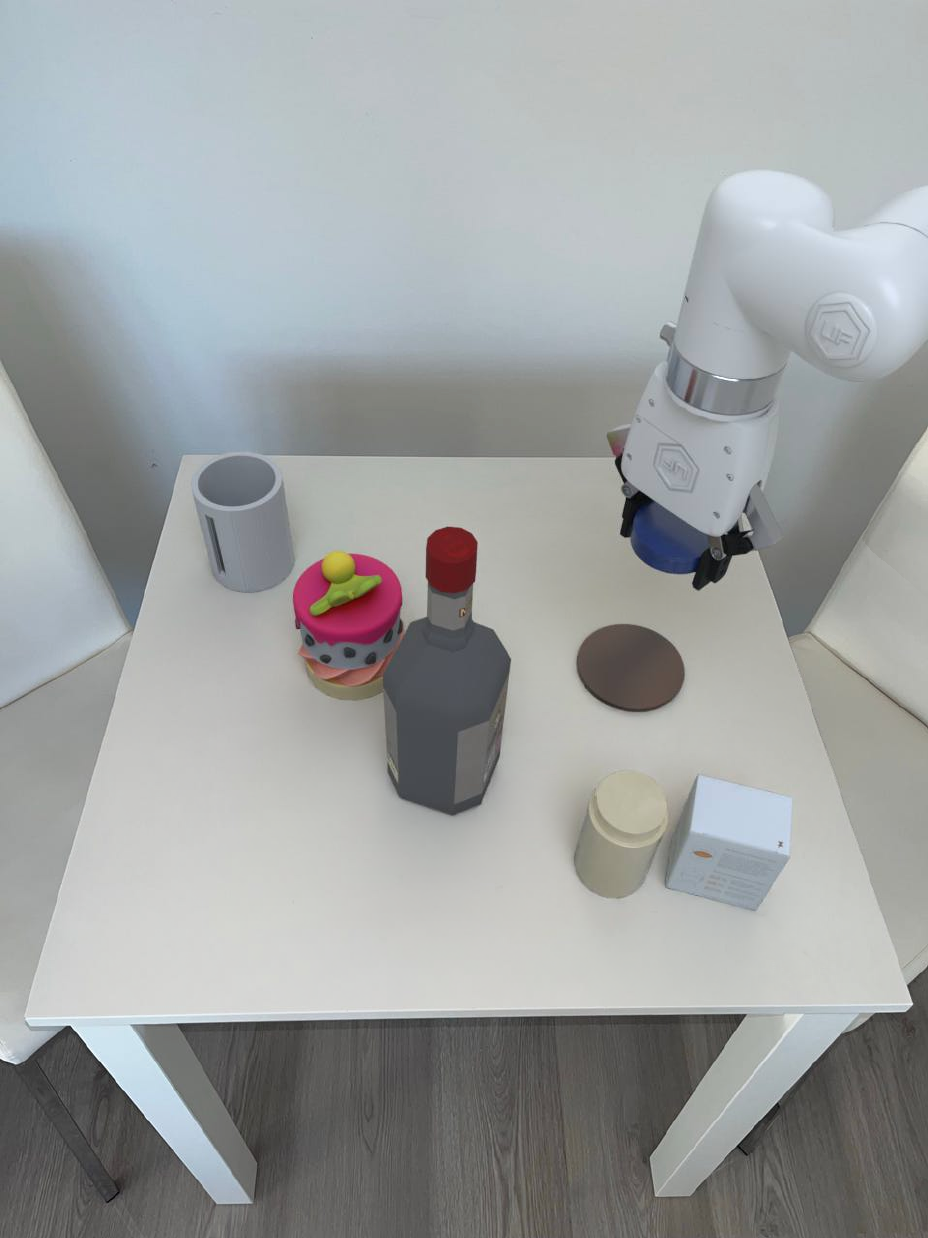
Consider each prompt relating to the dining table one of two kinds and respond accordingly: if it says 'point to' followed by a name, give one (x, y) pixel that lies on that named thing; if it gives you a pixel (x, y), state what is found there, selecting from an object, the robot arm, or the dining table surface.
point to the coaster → (630, 667)
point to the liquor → (446, 688)
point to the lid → (666, 540)
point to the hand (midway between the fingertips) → (669, 553)
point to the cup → (244, 520)
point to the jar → (620, 834)
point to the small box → (730, 842)
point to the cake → (348, 623)
